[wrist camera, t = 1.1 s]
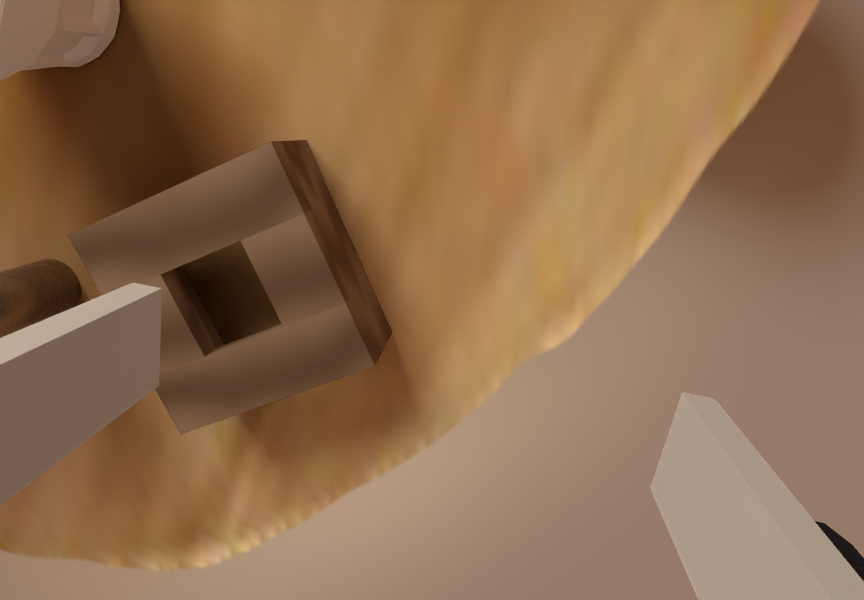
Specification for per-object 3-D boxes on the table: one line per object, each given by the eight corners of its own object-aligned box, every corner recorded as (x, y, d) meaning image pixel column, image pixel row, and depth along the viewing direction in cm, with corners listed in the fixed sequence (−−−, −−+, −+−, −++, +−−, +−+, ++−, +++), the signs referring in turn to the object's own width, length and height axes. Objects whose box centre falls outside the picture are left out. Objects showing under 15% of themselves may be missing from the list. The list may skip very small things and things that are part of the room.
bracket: (129, 220, 40) (67, 235, 34) (305, 140, 37) (270, 141, 31) (222, 393, 43) (180, 434, 37) (392, 332, 40) (374, 366, 34)
